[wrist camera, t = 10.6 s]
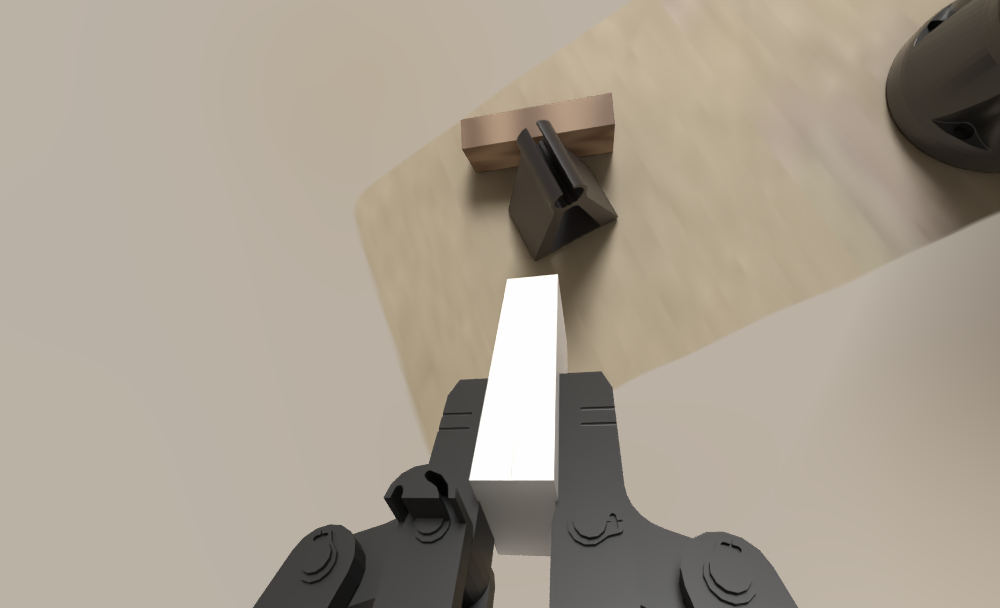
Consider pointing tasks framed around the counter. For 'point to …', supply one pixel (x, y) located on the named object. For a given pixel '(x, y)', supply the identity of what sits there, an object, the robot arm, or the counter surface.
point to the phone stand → (555, 194)
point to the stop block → (574, 121)
